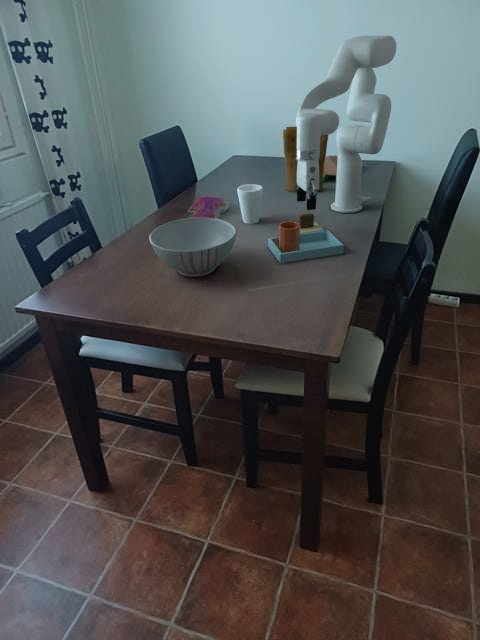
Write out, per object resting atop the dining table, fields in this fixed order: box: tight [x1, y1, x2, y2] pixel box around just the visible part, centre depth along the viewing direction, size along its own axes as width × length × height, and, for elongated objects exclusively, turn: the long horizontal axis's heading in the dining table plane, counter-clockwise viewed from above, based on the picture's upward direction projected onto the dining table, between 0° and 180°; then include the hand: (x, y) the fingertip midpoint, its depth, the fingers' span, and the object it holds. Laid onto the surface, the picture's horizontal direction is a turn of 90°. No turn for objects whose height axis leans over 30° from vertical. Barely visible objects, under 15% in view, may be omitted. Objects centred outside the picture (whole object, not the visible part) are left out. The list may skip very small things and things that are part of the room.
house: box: [322, 155, 338, 182], centre depth 231 cm, size 23×33×8 cm
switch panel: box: [300, 221, 324, 234], centre depth 170 cm, size 12×9×3 cm
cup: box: [278, 220, 300, 253], centre depth 156 cm, size 7×7×10 cm
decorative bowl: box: [148, 216, 238, 278], centre depth 149 cm, size 27×27×12 cm
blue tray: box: [267, 229, 345, 264], centre depth 159 cm, size 22×14×3 cm, turn 103°
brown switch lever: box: [298, 213, 315, 229], centre depth 168 cm, size 5×2×5 cm, turn 103°
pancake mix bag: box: [282, 126, 329, 193], centre depth 205 cm, size 7×19×28 cm, turn 75°
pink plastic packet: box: [187, 196, 232, 219], centre depth 191 cm, size 30×15×5 cm, turn 167°
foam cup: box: [236, 183, 264, 225], centre depth 182 cm, size 10×9×13 cm
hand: (306, 205), depth 164 cm, fingers open, 9 cm apart
